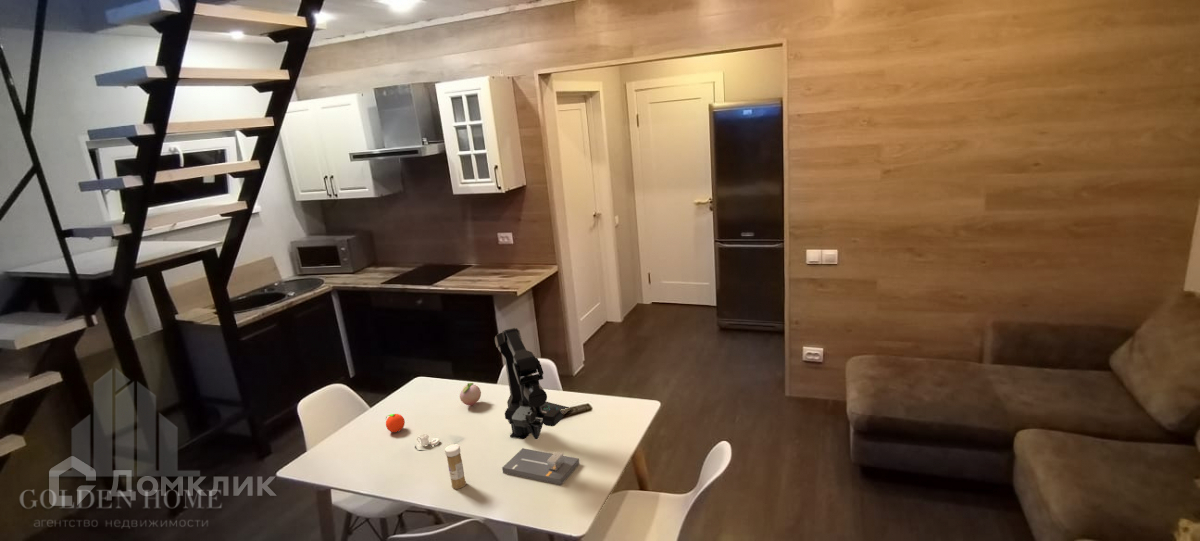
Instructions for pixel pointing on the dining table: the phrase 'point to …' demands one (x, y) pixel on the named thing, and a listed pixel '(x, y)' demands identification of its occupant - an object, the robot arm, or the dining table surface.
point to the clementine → (395, 422)
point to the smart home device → (552, 406)
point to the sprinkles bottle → (455, 466)
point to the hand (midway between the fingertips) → (536, 438)
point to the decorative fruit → (470, 394)
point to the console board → (539, 466)
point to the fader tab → (555, 461)
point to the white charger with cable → (427, 440)
